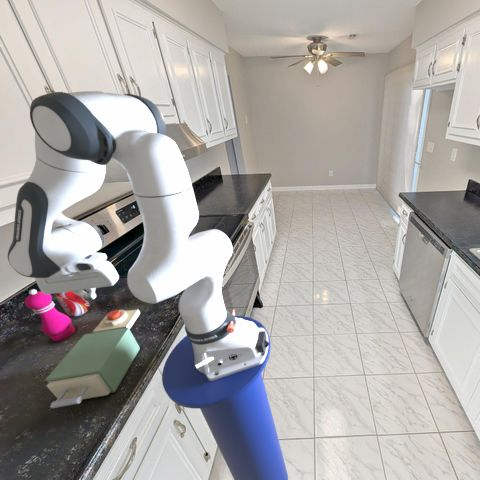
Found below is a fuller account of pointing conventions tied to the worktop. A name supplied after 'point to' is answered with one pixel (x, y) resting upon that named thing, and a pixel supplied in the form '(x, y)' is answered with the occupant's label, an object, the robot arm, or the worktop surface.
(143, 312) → the worktop surface
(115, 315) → the button
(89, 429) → the worktop surface
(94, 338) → the cabinet
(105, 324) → the control block
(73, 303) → the soda can
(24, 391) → the worktop surface
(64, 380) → the drawer
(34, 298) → the pepper mill
